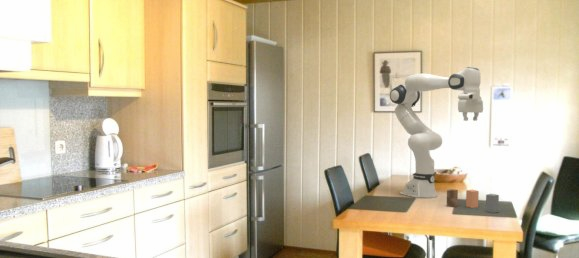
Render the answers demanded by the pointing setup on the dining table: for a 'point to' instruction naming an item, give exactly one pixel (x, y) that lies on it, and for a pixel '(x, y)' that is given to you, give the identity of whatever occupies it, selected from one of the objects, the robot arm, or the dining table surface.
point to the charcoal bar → (492, 203)
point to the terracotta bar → (472, 198)
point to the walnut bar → (452, 198)
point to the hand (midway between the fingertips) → (470, 120)
